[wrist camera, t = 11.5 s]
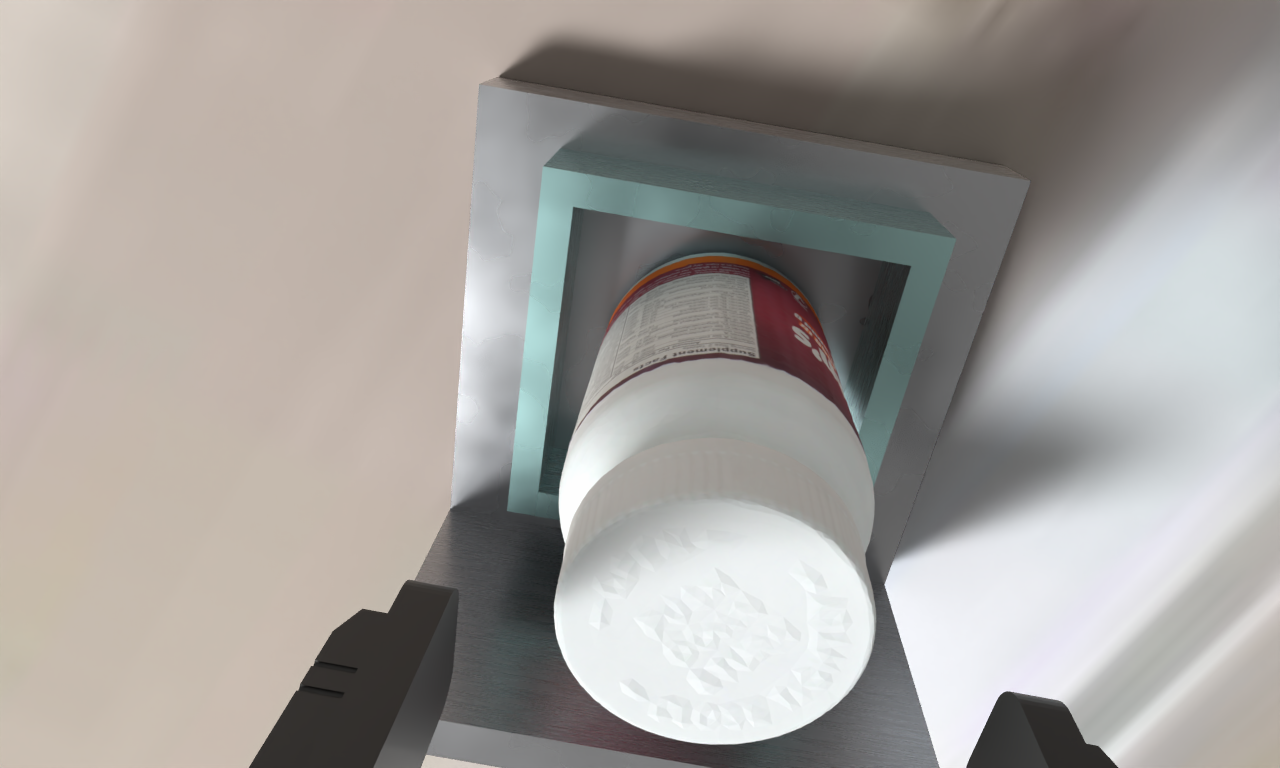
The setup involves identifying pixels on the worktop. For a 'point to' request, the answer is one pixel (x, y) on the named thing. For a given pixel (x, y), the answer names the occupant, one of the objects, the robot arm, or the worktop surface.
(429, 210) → the worktop surface
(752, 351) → the pill bottle
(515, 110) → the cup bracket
